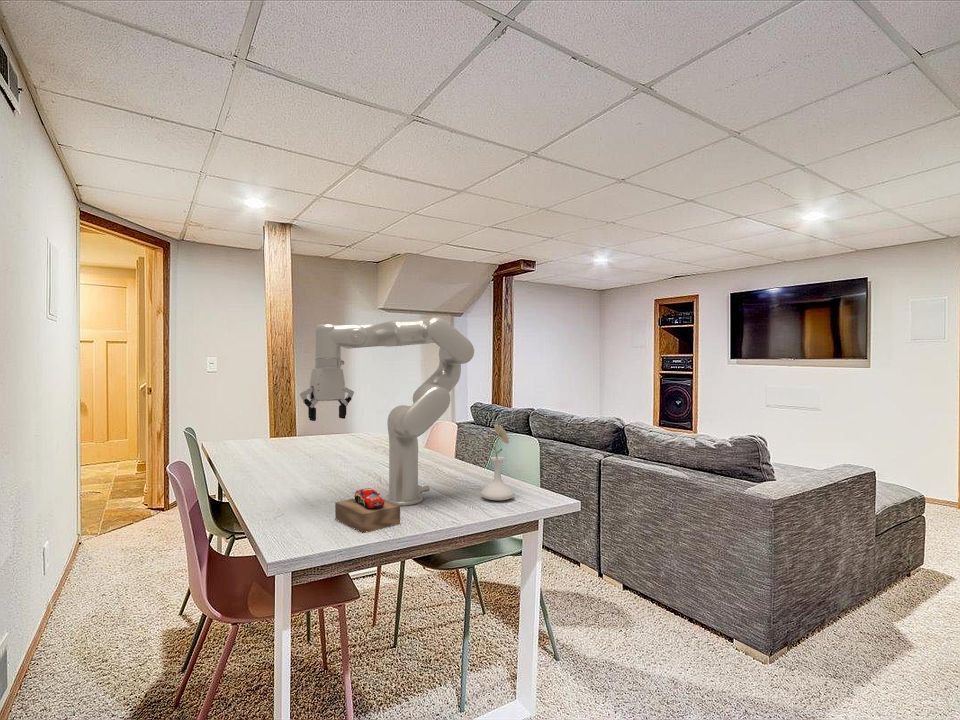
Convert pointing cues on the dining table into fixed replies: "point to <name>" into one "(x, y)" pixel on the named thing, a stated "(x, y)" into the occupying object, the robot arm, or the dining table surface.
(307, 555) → the dining table surface
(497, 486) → the flower in vase
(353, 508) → the walnut riser block
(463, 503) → the dining table surface
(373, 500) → the race car
